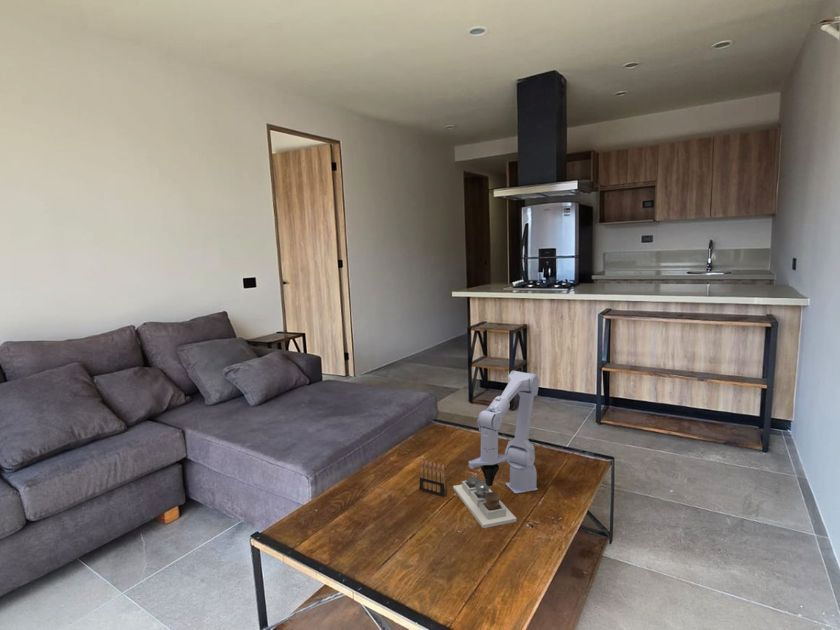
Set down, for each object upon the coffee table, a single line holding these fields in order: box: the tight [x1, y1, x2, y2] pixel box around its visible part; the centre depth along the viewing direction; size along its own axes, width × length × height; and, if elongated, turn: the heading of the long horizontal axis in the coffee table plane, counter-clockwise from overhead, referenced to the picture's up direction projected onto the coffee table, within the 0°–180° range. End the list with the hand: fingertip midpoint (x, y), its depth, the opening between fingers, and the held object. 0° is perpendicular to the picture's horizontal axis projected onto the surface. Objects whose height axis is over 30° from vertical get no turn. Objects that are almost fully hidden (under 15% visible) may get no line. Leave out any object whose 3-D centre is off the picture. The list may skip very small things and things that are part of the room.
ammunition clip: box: [418, 459, 447, 498], centre depth 173 cm, size 11×2×12 cm, turn 59°
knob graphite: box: [466, 476, 481, 488], centre depth 172 cm, size 5×5×4 cm
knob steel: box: [475, 480, 491, 498], centre depth 164 cm, size 5×5×4 cm
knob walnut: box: [485, 491, 501, 510], centre depth 157 cm, size 5×5×4 cm
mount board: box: [452, 479, 517, 529], centre depth 165 cm, size 12×27×4 cm, turn 17°
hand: (489, 484), depth 158 cm, fingers closed
